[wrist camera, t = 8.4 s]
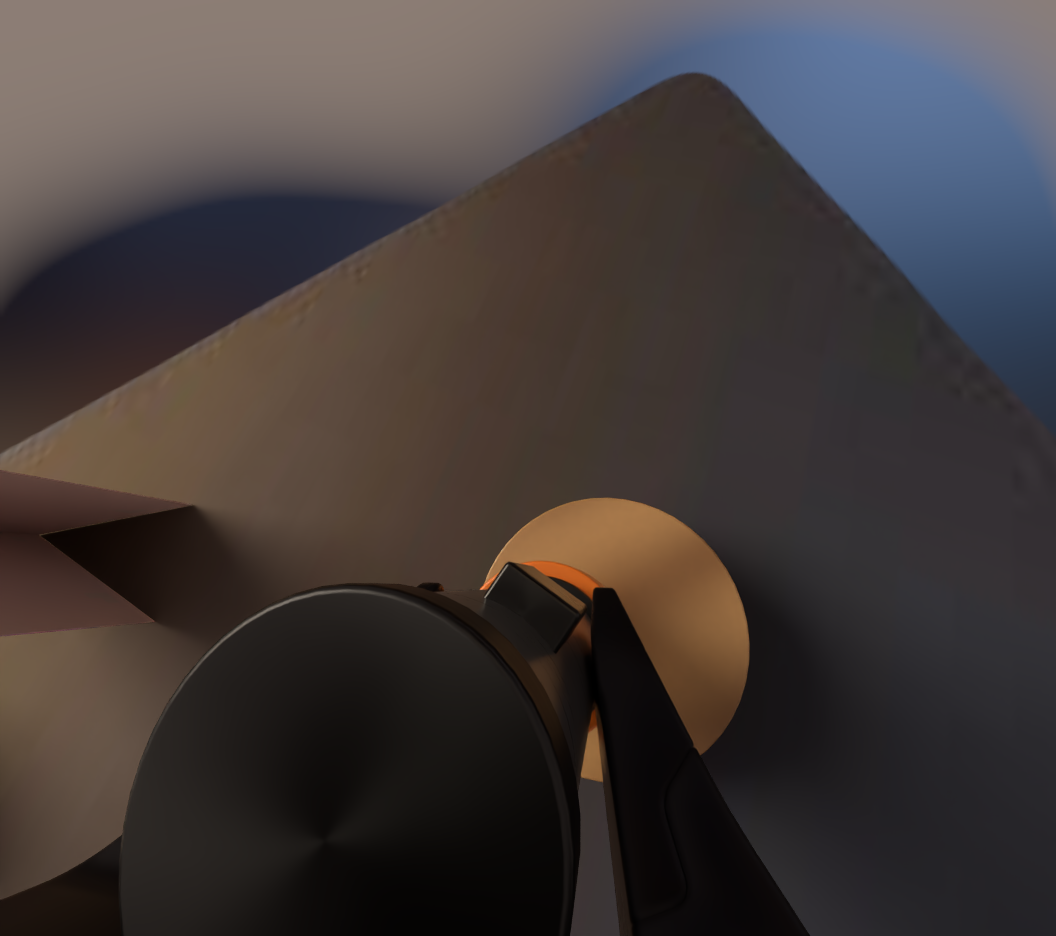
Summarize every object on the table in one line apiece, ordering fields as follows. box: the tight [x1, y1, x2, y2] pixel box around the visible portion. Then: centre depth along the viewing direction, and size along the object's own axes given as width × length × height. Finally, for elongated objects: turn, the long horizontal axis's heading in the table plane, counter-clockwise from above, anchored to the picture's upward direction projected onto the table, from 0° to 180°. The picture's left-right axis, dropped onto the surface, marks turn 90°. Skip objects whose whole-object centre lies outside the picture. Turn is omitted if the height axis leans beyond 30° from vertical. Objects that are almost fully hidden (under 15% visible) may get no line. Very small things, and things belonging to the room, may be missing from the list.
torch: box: [118, 561, 604, 936], centre depth 9 cm, size 5×5×13 cm
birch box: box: [484, 498, 750, 782], centre depth 19 cm, size 10×10×4 cm
